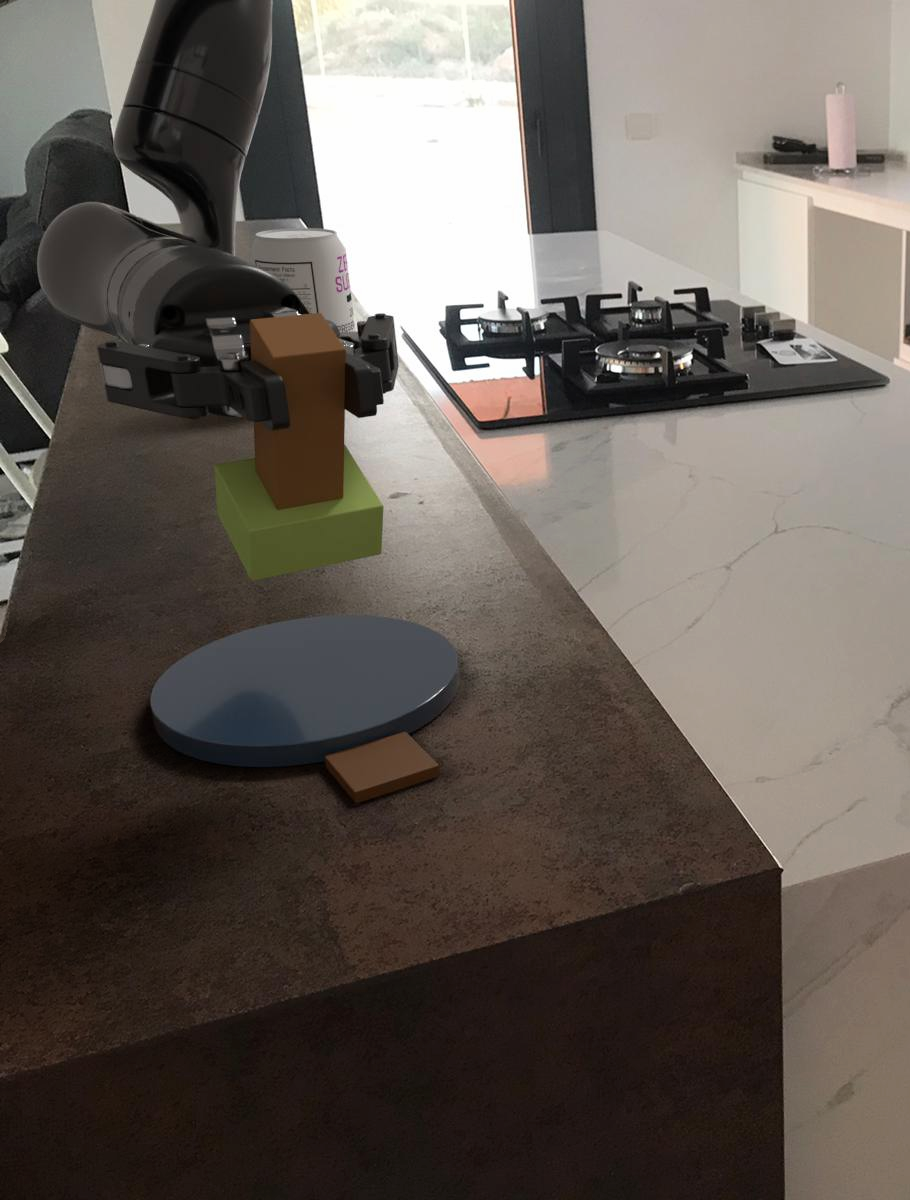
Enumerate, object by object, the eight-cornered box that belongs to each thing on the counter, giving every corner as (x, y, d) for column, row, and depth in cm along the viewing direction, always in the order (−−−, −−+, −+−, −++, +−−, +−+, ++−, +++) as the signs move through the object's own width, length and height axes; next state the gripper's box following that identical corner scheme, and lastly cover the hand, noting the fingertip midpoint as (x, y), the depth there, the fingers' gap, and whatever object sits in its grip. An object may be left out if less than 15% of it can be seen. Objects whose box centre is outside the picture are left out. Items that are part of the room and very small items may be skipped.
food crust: (356, 807, 58) (354, 792, 57) (325, 770, 60) (323, 755, 60) (440, 779, 60) (439, 765, 60) (407, 745, 63) (405, 730, 62)
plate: (199, 802, 57) (194, 779, 57) (123, 678, 68) (119, 658, 68) (507, 709, 66) (506, 688, 65) (396, 612, 77) (394, 594, 76)
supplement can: (260, 390, 124) (235, 231, 118) (343, 379, 129) (323, 225, 123) (290, 408, 118) (266, 241, 112) (376, 395, 123) (357, 234, 117)
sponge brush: (251, 582, 58) (242, 376, 51) (216, 514, 60) (203, 310, 53) (382, 554, 61) (390, 358, 54) (344, 491, 64) (347, 296, 57)
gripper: (41, 262, 60) (120, 326, 47) (341, 241, 68) (477, 292, 55) (74, 418, 63) (156, 517, 50) (357, 381, 71) (490, 459, 58)
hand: (323, 399), depth 53 cm, fingers closed on sponge brush, 3 cm apart
